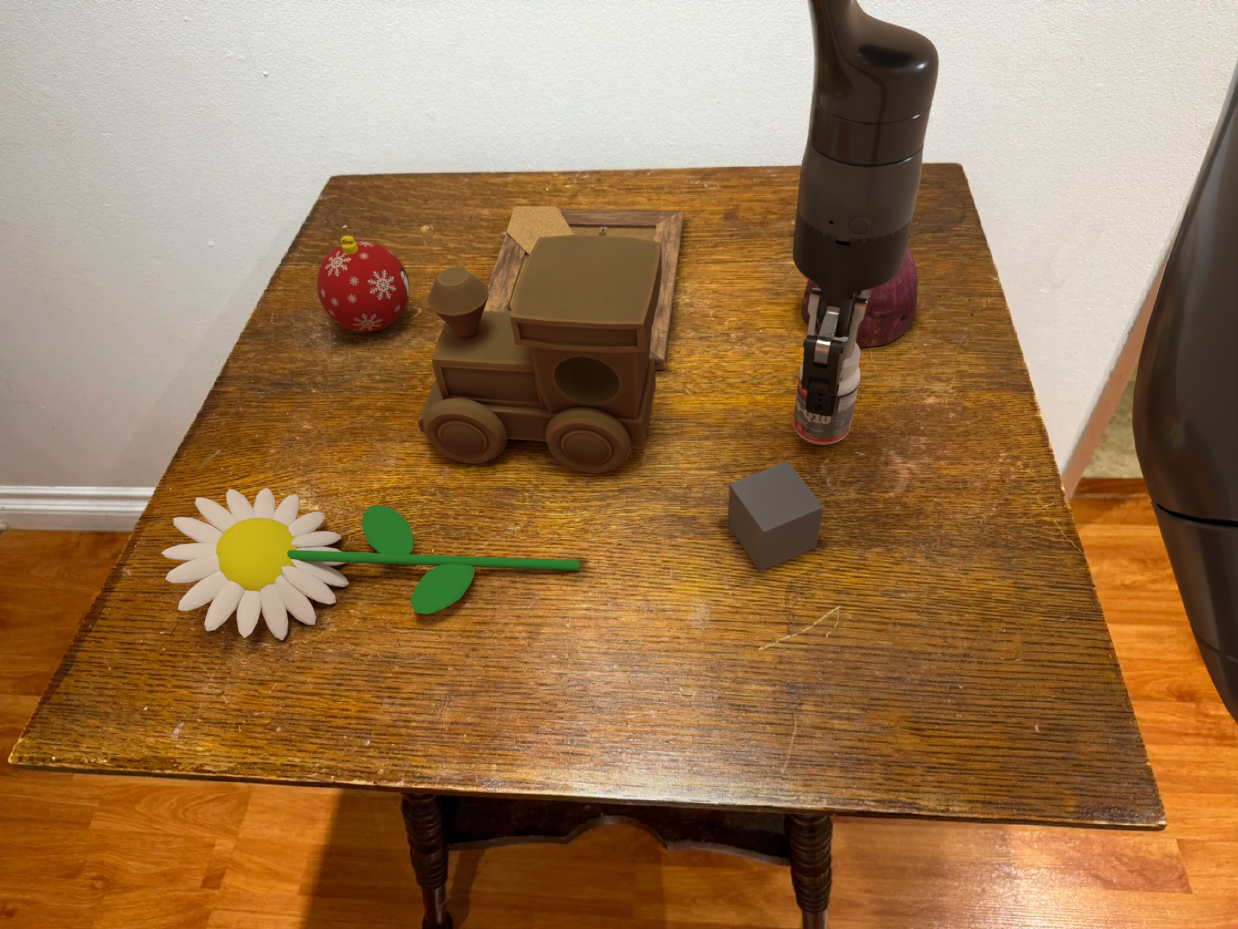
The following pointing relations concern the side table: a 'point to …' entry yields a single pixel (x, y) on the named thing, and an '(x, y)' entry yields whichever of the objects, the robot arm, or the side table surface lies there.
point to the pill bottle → (839, 423)
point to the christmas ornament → (362, 285)
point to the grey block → (774, 515)
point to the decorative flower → (303, 561)
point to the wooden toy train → (549, 355)
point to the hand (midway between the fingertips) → (827, 388)
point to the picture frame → (594, 222)
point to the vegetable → (883, 307)
